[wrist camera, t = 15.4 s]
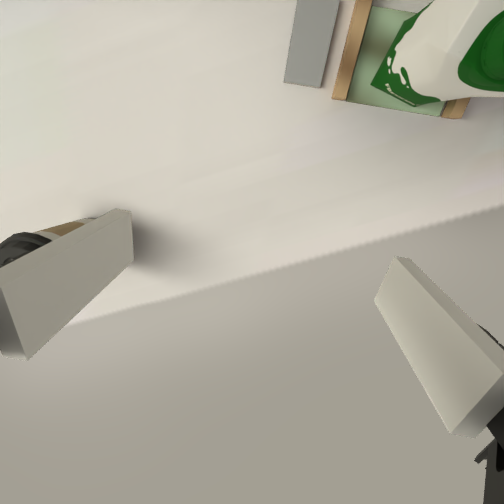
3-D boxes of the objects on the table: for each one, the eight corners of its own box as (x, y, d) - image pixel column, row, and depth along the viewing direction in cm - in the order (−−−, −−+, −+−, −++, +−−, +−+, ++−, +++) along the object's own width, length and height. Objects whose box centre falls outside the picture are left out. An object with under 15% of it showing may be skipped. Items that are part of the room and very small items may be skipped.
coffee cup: (113, 271, 52) (56, 322, 38) (58, 242, 50) (-22, 285, 36) (133, 228, 47) (76, 269, 34) (74, 194, 45) (-12, 223, 31)
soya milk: (359, 89, 34) (452, 48, 17) (402, 7, 31) (584, -163, 13) (415, 117, 35) (558, 107, 17) (463, 41, 31) (712, -73, 14)
